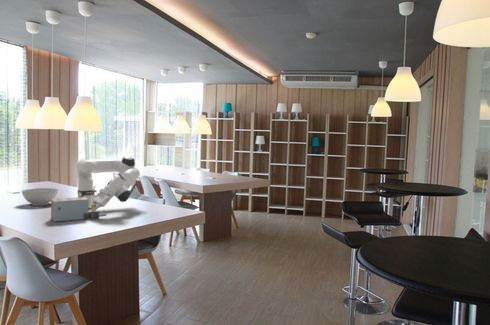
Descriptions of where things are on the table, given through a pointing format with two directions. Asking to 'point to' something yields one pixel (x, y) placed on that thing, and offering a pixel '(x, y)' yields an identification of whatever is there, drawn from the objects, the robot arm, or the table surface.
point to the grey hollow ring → (91, 215)
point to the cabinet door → (70, 209)
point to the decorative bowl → (39, 195)
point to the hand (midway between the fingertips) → (93, 208)
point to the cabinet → (61, 200)
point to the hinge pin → (93, 208)
